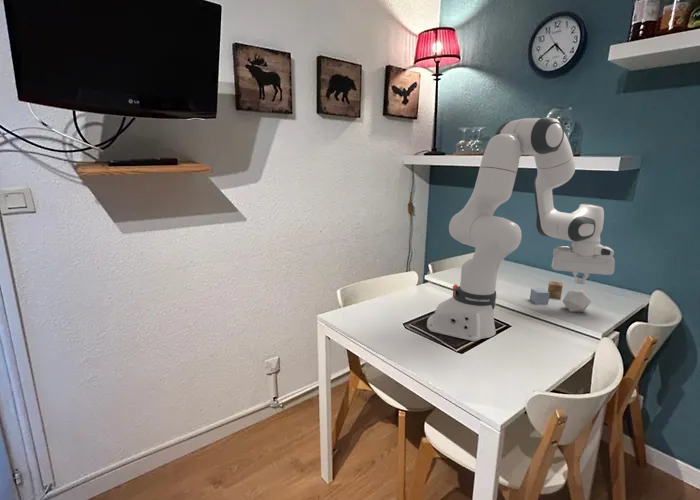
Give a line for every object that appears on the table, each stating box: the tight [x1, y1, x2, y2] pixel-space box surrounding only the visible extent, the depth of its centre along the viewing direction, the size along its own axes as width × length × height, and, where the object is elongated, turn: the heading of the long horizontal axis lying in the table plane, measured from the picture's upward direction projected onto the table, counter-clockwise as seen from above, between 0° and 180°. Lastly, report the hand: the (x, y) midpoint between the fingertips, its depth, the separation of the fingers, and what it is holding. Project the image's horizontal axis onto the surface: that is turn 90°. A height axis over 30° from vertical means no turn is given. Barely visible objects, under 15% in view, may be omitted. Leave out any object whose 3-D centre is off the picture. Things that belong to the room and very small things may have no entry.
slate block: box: [529, 288, 550, 305], centre depth 158 cm, size 5×5×5 cm
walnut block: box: [547, 280, 564, 301], centre depth 164 cm, size 5×5×6 cm
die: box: [561, 289, 592, 313], centre depth 149 cm, size 8×9×10 cm
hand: (579, 283), depth 147 cm, fingers closed
